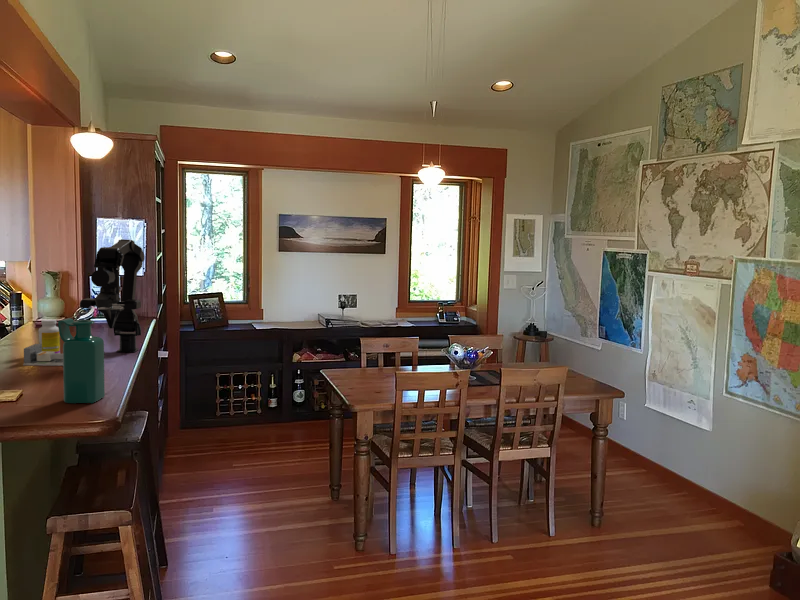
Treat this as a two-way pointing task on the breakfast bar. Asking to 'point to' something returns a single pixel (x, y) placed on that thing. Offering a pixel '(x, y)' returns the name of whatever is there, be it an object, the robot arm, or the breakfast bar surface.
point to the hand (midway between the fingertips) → (111, 328)
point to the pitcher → (82, 362)
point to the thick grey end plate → (48, 356)
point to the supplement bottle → (49, 336)
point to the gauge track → (31, 357)
